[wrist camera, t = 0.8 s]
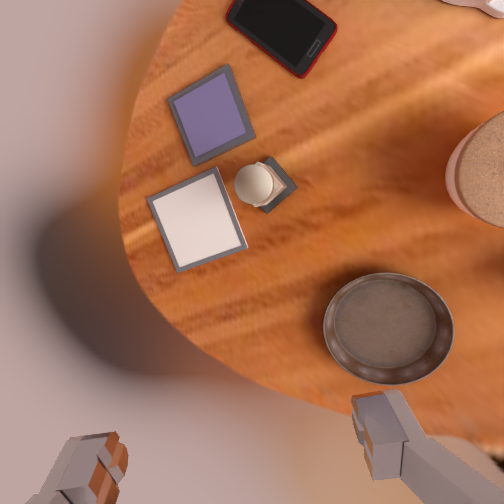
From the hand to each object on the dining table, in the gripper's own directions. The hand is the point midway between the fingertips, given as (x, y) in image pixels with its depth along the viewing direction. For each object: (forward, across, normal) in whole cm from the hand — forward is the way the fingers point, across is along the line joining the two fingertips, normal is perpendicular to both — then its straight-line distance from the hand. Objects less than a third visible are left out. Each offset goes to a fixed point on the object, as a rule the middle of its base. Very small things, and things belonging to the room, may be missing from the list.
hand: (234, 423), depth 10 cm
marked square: (+41, +8, +6) cm, 42 cm away
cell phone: (+44, -10, -19) cm, 49 cm away
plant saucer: (+29, -18, +24) cm, 42 cm away
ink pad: (+44, +2, -9) cm, 45 cm away
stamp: (+39, -5, +2) cm, 39 cm away
